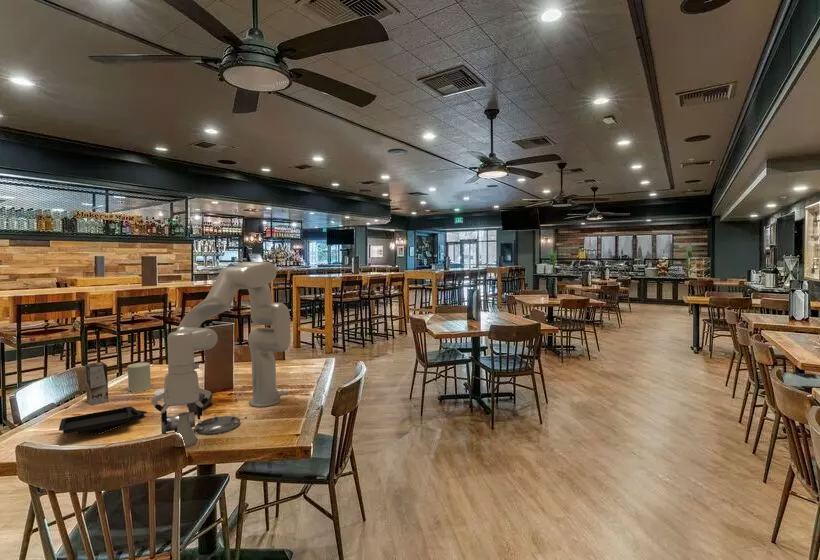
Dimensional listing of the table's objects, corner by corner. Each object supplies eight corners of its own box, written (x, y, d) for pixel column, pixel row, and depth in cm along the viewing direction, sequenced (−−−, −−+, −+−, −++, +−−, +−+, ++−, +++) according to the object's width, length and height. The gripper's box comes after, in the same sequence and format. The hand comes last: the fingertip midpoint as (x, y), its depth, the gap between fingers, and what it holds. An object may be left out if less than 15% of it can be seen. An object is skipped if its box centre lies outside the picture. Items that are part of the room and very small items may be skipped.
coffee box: (109, 401, 186) (107, 364, 185) (91, 405, 181) (89, 367, 180) (104, 397, 192) (102, 361, 191) (86, 400, 187) (84, 364, 186)
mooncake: (157, 394, 195) (157, 387, 195) (187, 392, 199) (186, 384, 198) (150, 403, 183) (150, 395, 183) (181, 400, 187) (181, 392, 187)
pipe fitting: (237, 415, 167) (236, 395, 166) (243, 429, 154) (242, 406, 153) (162, 429, 154) (161, 407, 154) (162, 445, 141) (160, 420, 141)
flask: (186, 449, 138) (185, 418, 138) (167, 447, 140) (165, 417, 139) (202, 439, 145) (200, 410, 145) (183, 438, 147) (182, 409, 146)
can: (123, 390, 201) (122, 365, 200) (142, 385, 209) (141, 360, 209) (137, 392, 197) (136, 367, 197) (155, 387, 206) (154, 362, 205)
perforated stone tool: (206, 402, 183) (205, 386, 183) (217, 402, 183) (217, 386, 182) (182, 415, 169) (182, 397, 168) (195, 415, 168) (194, 398, 167)
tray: (113, 411, 174) (112, 399, 173) (164, 414, 170) (163, 401, 169) (37, 443, 144) (36, 428, 144) (97, 448, 140) (96, 432, 140)
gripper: (209, 364, 149) (210, 413, 149) (150, 370, 140) (152, 422, 141) (211, 368, 142) (212, 419, 143) (150, 375, 133) (151, 429, 134)
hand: (182, 421), depth 142 cm, fingers open, 9 cm apart
